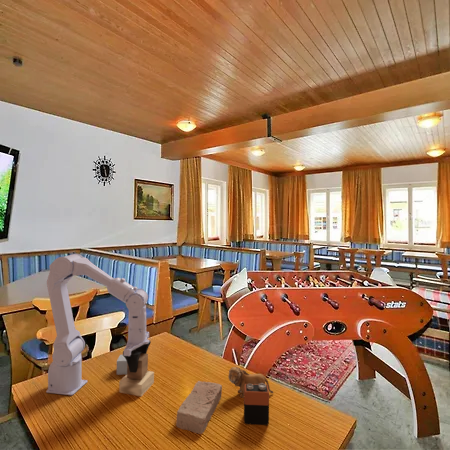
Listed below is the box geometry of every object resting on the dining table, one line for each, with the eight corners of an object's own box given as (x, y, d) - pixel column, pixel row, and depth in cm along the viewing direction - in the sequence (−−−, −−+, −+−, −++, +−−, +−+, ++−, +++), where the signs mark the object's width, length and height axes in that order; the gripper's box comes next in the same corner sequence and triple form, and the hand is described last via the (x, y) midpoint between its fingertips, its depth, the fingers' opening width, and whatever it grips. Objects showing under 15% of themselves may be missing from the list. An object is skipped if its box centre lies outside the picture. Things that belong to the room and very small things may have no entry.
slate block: (116, 374, 103) (116, 361, 103) (120, 367, 108) (120, 354, 108) (130, 374, 104) (130, 360, 104) (133, 367, 109) (133, 354, 109)
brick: (203, 435, 75) (203, 417, 75) (174, 428, 78) (174, 411, 78) (222, 398, 91) (222, 383, 91) (198, 393, 93) (198, 379, 93)
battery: (269, 426, 78) (269, 390, 78) (244, 424, 79) (244, 389, 79) (267, 415, 83) (267, 381, 83) (243, 414, 83) (244, 380, 83)
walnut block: (127, 377, 93) (127, 359, 93) (133, 369, 98) (133, 352, 98) (141, 379, 93) (142, 360, 93) (147, 371, 98) (147, 353, 98)
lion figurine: (229, 400, 89) (229, 372, 89) (227, 390, 94) (227, 363, 94) (275, 399, 90) (275, 370, 90) (271, 388, 96) (271, 362, 95)
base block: (119, 393, 93) (119, 381, 93) (133, 379, 101) (133, 368, 101) (141, 397, 91) (141, 384, 91) (153, 383, 99) (153, 371, 99)
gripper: (138, 336, 88) (138, 380, 88) (157, 320, 102) (157, 357, 102) (117, 335, 89) (117, 378, 89) (138, 318, 103) (138, 356, 103)
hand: (137, 367), depth 96 cm, fingers closed on walnut block, 5 cm apart
